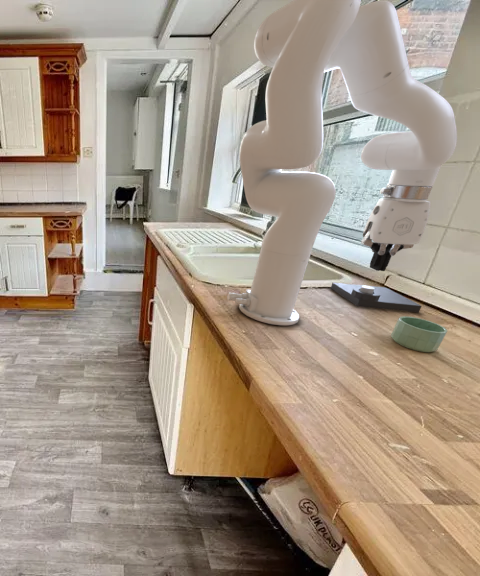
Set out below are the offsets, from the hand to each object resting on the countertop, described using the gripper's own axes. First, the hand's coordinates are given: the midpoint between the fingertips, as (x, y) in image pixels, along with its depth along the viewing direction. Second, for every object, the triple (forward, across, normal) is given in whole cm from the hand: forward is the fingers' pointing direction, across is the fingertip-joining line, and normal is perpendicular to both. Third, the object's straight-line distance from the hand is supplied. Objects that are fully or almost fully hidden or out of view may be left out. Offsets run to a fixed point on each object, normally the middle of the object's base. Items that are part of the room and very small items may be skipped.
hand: (376, 269), depth 77 cm
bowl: (+9, -3, -21) cm, 23 cm away
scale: (+10, +4, +4) cm, 11 cm away
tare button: (+6, -1, 0) cm, 7 cm away
